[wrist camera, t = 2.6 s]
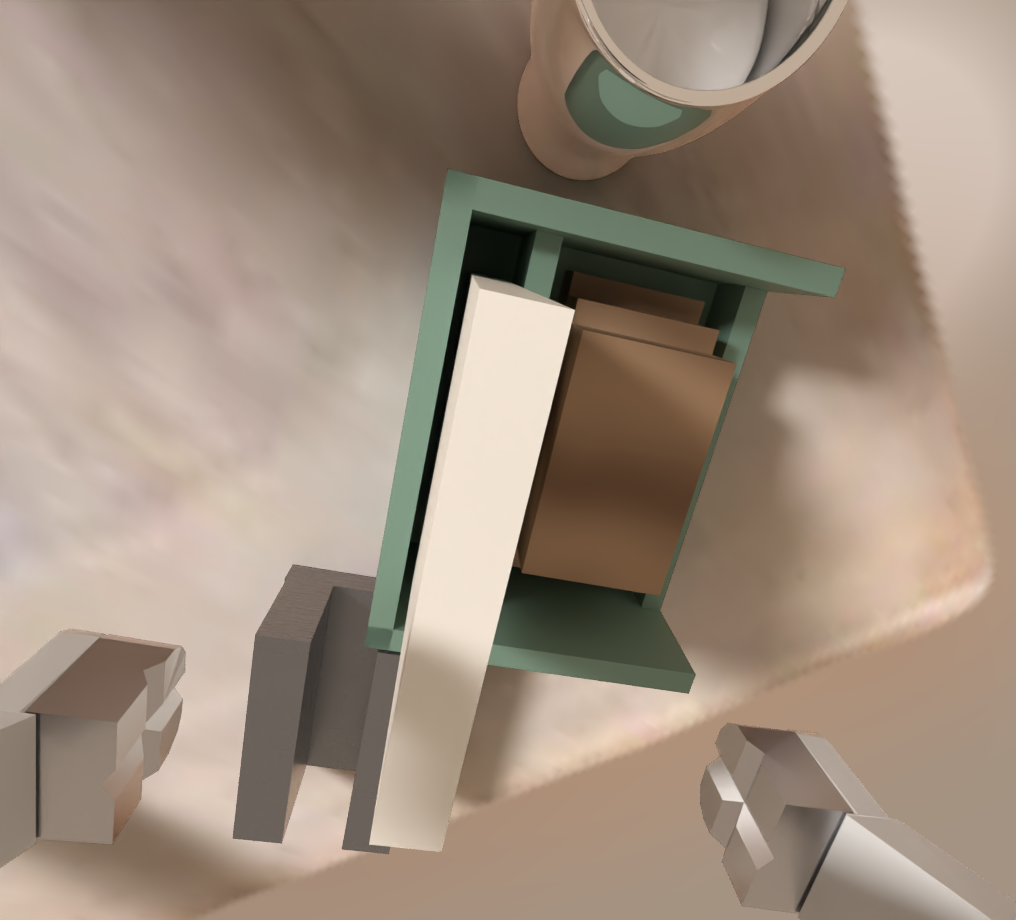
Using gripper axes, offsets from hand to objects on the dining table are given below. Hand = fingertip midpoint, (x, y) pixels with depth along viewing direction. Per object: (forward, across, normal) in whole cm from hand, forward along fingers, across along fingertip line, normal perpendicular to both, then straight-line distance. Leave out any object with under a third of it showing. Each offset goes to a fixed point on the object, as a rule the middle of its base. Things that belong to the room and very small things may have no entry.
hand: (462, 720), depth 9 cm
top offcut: (+17, -6, 0) cm, 18 cm away
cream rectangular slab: (+22, 0, 0) cm, 22 cm away
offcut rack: (+23, -5, 0) cm, 23 cm away
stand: (+23, +3, +16) cm, 28 cm away
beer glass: (+23, -3, -14) cm, 27 cm away
